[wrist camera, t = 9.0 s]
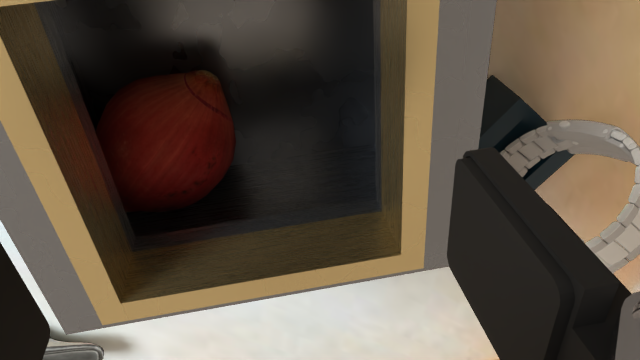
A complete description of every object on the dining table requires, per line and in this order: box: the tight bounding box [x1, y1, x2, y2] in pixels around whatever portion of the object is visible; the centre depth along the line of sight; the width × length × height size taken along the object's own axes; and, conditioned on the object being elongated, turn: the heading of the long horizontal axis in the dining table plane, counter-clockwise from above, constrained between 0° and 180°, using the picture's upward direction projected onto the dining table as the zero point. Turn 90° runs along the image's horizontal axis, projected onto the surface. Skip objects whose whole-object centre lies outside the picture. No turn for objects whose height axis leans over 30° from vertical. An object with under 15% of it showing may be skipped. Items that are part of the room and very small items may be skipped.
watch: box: [478, 75, 640, 274], centre depth 25 cm, size 6×8×11 cm
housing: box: [0, 0, 497, 335], centre depth 18 cm, size 16×16×12 cm
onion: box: [96, 70, 236, 212], centre depth 22 cm, size 6×6×8 cm
